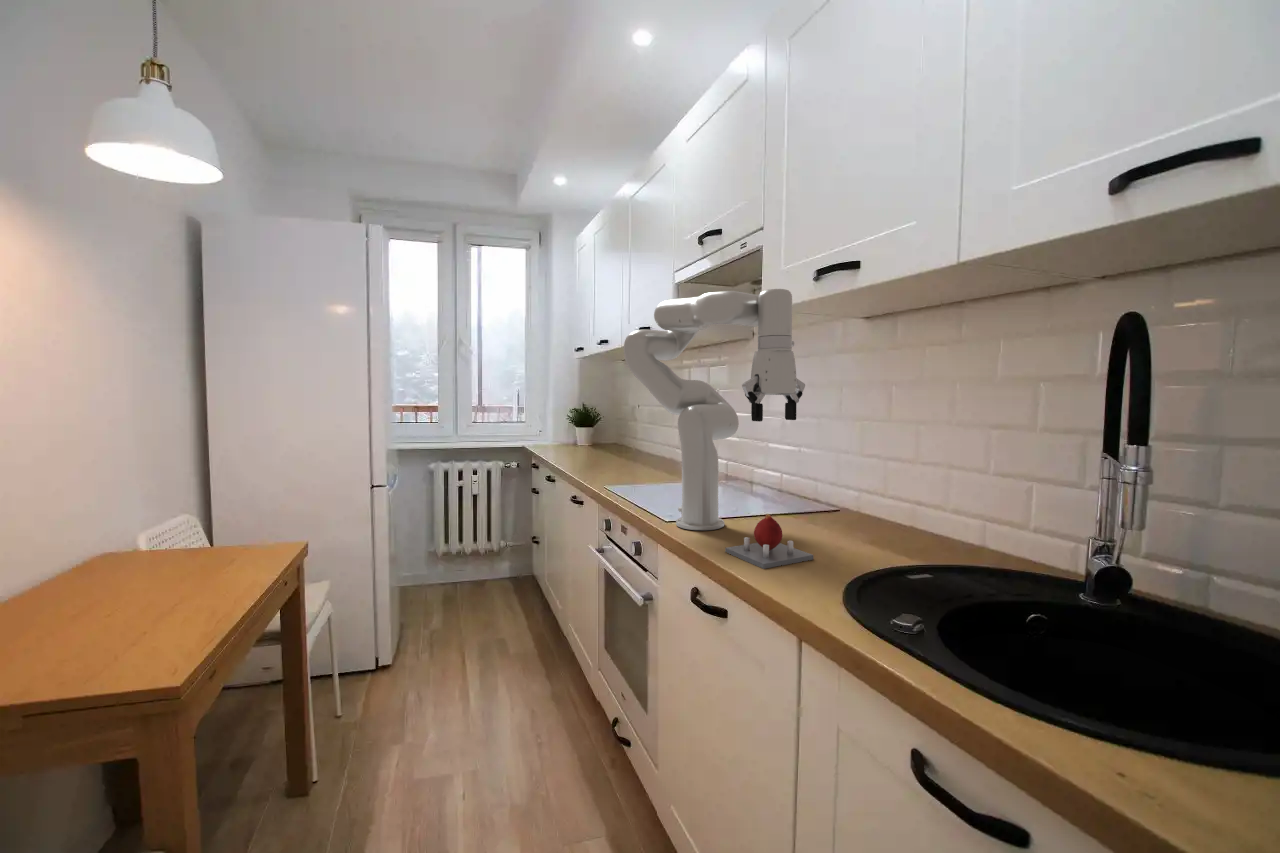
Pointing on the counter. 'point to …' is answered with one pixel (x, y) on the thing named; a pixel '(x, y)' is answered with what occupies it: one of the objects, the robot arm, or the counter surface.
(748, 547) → the pin tray
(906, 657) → the counter surface
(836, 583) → the counter surface
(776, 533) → the onion
